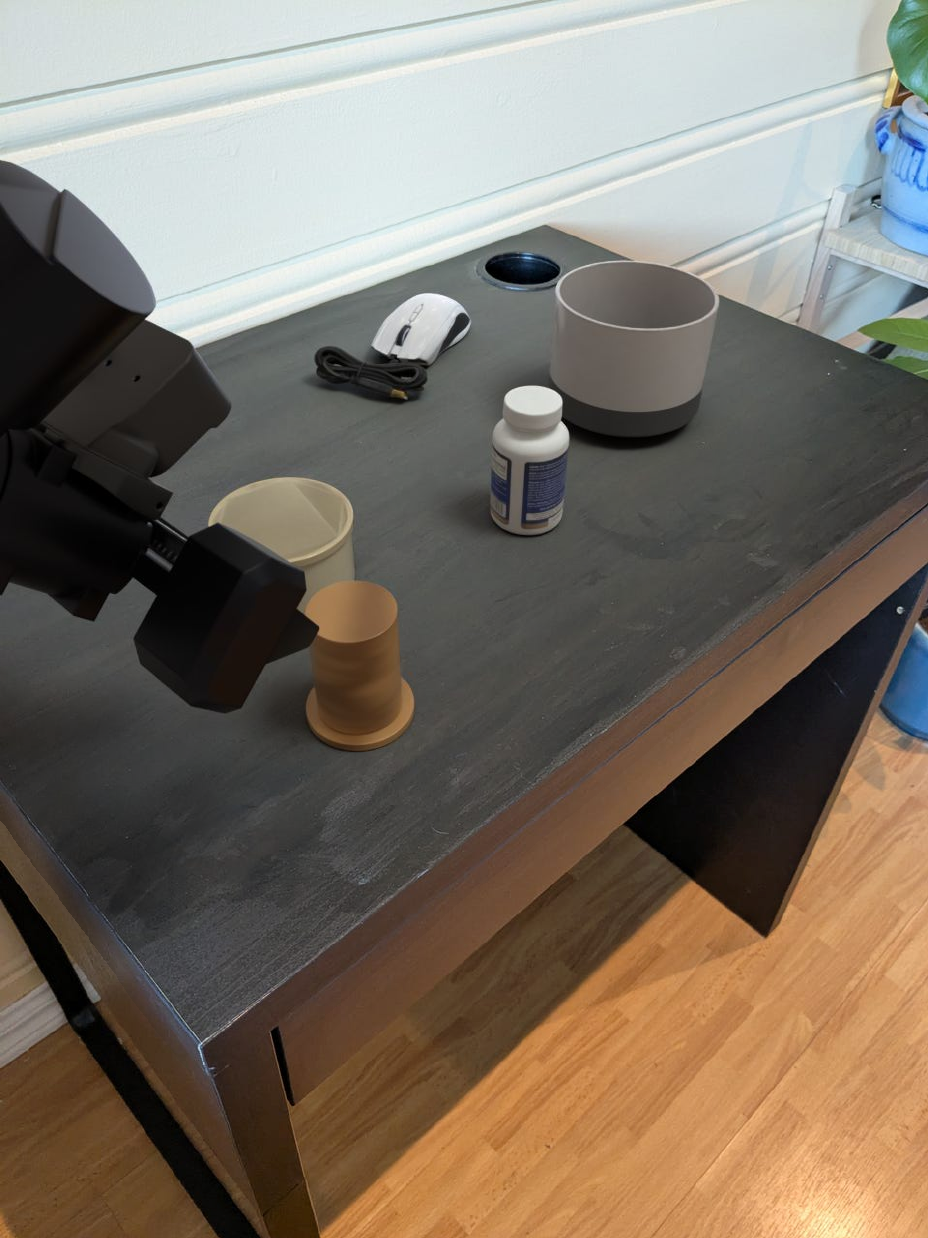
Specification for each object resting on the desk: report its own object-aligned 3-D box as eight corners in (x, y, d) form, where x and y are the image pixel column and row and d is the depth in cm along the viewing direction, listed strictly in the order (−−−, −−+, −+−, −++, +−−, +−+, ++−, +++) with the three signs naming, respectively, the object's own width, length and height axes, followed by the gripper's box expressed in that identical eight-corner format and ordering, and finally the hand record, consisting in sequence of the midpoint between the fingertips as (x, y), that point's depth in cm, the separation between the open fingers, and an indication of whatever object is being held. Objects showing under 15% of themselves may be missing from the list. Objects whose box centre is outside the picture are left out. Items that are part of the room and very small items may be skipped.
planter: (518, 419, 82) (524, 301, 74) (591, 360, 89) (603, 248, 82) (655, 468, 76) (676, 346, 69) (720, 400, 84) (745, 284, 77)
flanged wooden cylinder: (305, 755, 55) (288, 655, 49) (308, 674, 59) (293, 575, 54) (417, 747, 55) (413, 648, 50) (411, 668, 60) (407, 569, 54)
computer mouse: (494, 324, 95) (496, 284, 92) (413, 411, 82) (412, 368, 80) (404, 305, 98) (402, 266, 95) (312, 386, 85) (308, 345, 83)
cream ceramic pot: (229, 634, 62) (216, 575, 58) (213, 547, 68) (200, 489, 65) (371, 607, 64) (367, 548, 61) (343, 525, 71) (337, 467, 67)
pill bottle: (570, 502, 73) (581, 387, 66) (551, 544, 69) (561, 426, 62) (502, 488, 74) (506, 374, 67) (480, 528, 70) (483, 411, 64)
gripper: (225, 356, 29) (473, 522, 42) (-53, 221, 38) (218, 390, 52) (47, 682, 29) (348, 744, 42) (-182, 465, 39) (120, 571, 52)
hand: (252, 594), depth 47 cm, fingers open, 9 cm apart
